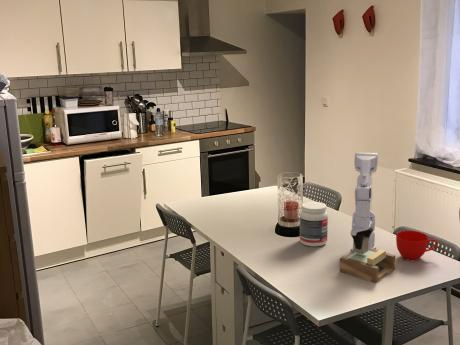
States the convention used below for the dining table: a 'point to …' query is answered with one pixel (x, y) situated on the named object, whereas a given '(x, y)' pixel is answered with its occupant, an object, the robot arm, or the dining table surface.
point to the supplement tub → (313, 224)
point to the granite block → (364, 246)
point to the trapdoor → (369, 257)
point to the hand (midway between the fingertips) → (361, 246)
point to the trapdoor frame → (368, 267)
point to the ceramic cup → (413, 244)
